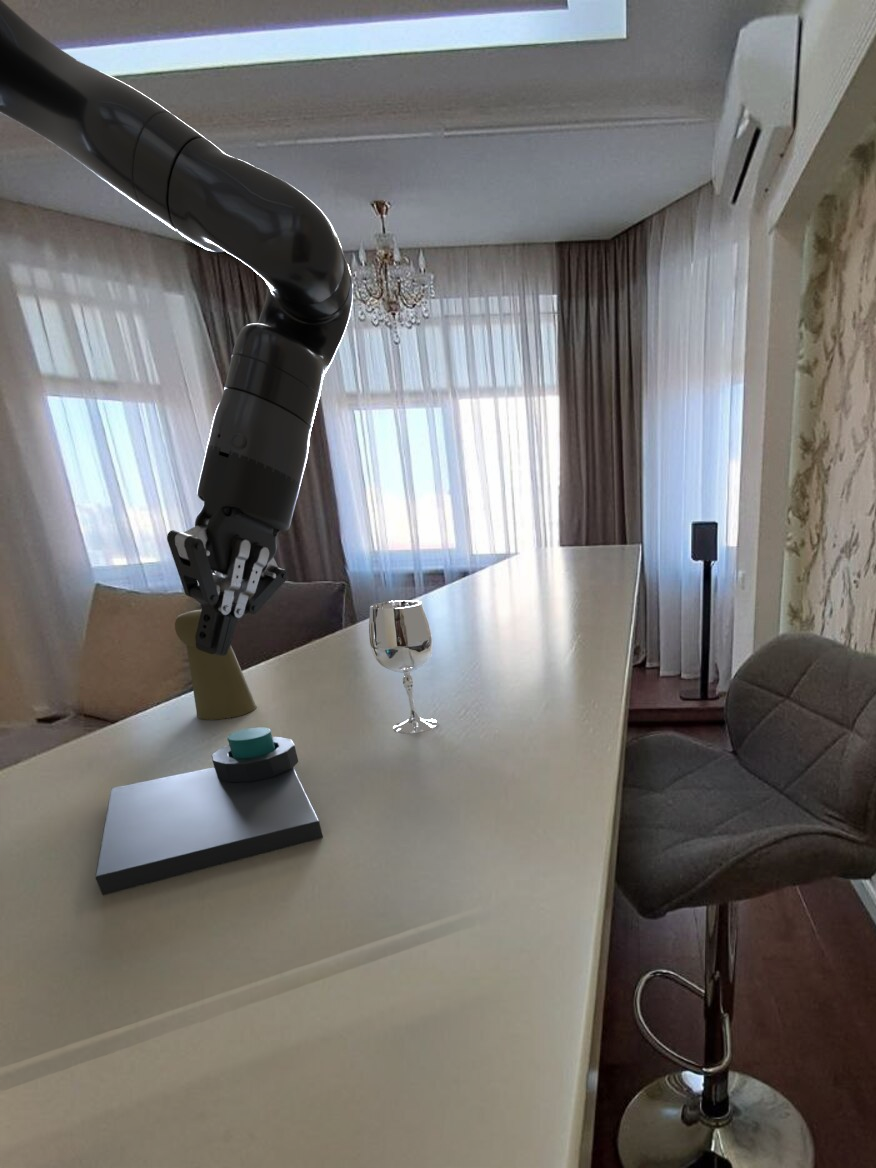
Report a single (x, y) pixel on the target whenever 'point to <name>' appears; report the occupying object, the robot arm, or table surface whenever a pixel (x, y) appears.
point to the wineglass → (402, 649)
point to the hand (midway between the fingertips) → (210, 652)
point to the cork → (214, 676)
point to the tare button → (251, 742)
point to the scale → (204, 818)
